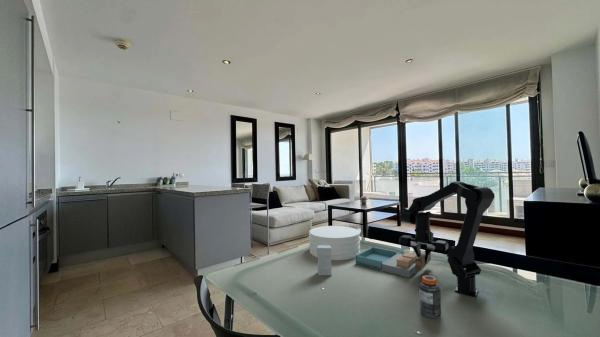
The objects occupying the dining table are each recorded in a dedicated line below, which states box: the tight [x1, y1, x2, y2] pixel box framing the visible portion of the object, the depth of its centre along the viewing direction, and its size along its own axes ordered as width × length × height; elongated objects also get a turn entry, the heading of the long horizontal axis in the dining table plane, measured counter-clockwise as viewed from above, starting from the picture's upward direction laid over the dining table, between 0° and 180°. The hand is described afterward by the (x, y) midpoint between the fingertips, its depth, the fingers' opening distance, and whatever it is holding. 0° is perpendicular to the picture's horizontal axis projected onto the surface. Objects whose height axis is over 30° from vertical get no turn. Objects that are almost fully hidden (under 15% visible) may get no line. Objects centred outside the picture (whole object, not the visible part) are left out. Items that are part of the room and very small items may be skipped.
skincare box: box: [316, 245, 333, 276], centre depth 112 cm, size 6×4×12 cm
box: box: [355, 246, 398, 271], centre depth 125 cm, size 18×13×4 cm
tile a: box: [397, 257, 412, 267], centre depth 113 cm, size 5×5×2 cm
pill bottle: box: [418, 275, 442, 319], centre depth 80 cm, size 6×6×11 cm
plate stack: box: [308, 225, 361, 261], centre depth 143 cm, size 28×28×12 cm
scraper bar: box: [415, 251, 432, 272], centre depth 111 cm, size 16×2×4 cm, turn 139°
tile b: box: [402, 252, 418, 263], centre depth 118 cm, size 5×5×2 cm
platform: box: [381, 253, 418, 278], centre depth 117 cm, size 18×12×3 cm, turn 138°
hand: (423, 262), depth 111 cm, fingers closed on scraper bar, 2 cm apart
